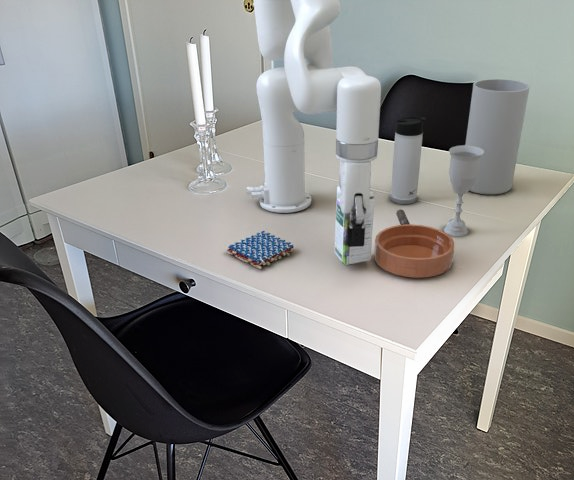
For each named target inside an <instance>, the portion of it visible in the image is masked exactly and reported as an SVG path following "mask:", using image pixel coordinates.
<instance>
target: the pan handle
mask: <svg viewBox="0 0 574 480" xmlns="http://www.w3.org/2000/svg"><path fill="white" fill-rule="evenodd" d="M395 214H396V217H397V219H398V223H399V225H409V224H411V223H410V221H409V219H408V216H407V215H406V212H405V210H403V209H402V208H401V209H397V210H396V213H395Z"/></svg>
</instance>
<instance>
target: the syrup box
mask: <svg viewBox="0 0 574 480" xmlns="http://www.w3.org/2000/svg"><path fill="white" fill-rule="evenodd" d="M340 193H341V190H340V187H339V185H337V187H336V205H335V206H336V208H335V228H334V229H335V231H334V254H335V255H336V256H337V257H338V259H339V260H340V261H341V263H342V264H343V265H344V266H347V265H351V264H352V265H353V264H359V263H363V262H367V261H371V256H372V255H371V254H372V244H373V243H372V242H373V228H374V227H373V226H374V214H375V213H374V212H375V200H376V199H375V198H376V193H375V192H374V191H372V189H370V199H369V209H368V212H367V213H366V214H365V213H364V221H365V239H364V246H361V247H348V246H347V231H348V227H349V213H346V214H343V213H342V211H341V207H340ZM352 211H355V208H353V207H352ZM352 217H353V219H354V218H355V215H352Z"/></svg>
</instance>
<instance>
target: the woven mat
mask: <svg viewBox="0 0 574 480" xmlns="http://www.w3.org/2000/svg"><path fill="white" fill-rule="evenodd" d="M286 241H287V240H286V239H281V237H276V235H275V234H273V235H272V234H271V232H266V231H265V230H262V231H259V232H256V233H255V234H254V235H253V234H250V236H249V237H245V238H243V239H240V240H239V241H238V242H237V241H235V242H234V243H232V244H229V246H228V248H227V249H226V251H227V254H229V255H231V256H235V258H236V259H238V260H240V261H242V262H244V263H248V264H250V265H252V266H253V267H255V268H256V269H258V270H261V271H262V270H263V267H262V266H265V265H267V266H271V263H272V262H274V261H275V262H276V261H278V260H282V257H284V256H287V257H289V256H290V255H291V254H290V253H293V252H294V250H295V249H294V248H295V247H294V244H292V242H291V241H289V242H288V241H287V242H286Z"/></svg>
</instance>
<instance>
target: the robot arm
mask: <svg viewBox="0 0 574 480" xmlns="http://www.w3.org/2000/svg"><path fill="white" fill-rule="evenodd" d="M253 9H254V18H255V27H256V35H257V43H258V44H257V45H258V50H259V52H260V54H261V56H262V58H264V59H265V60H267V61H273V62H279V61H281V62H282V61H283V65H284V66H280V67H274V68H270V69H267V70H265V71H263V72H262V73H261V74H260V75H259V77H258V78H257V80H256V85H255V87H256V96H257V100H258V101H257V102H258V105H259V110H260V116H261V127H262V143H263V147H262V148H263V167H264V182H263V185H259V186H257V187H256V186H246V195H247V196H251V199H257V198H259V206H260V207H261V208H262V209H264V210H265V211H268V212H272V213H278V214H289V213H296V212H301V211H303V210H305V209H307V208H308V207H310V206H311V205H312V196H311V195H310V193H307V192H306V175H305V174H306V173H305V172H306V169H305V167H306V165H305V161H306V160H305V158H306V157H305V154H306V153H305V130H304V127H303V125H302V124H301V122H300V121H299V120H298V119H297V118H296V117H295V115H294V113H296V112H300V113H301V114H304V115H318V114H326V113H331V112H336V127H335V128H336V129H335V158H336V159H337V160H339V173H338V174H339V175H338V186H339V187H340V190H341V193H340V207H341V211H342V213H343V214H346V213H349V227H348V231H347V246H348V247H361V246H364V239H365V221H364V213H365V214H366V213H367V212H368V209H369V199H370V190H371V177H372V176H371V175H372V161H375V160H376V159H377V158H378V153H379V134H380V133H379V132H380V131H379V130H380V117H381V114H380V113H381V98H382V85H381V84H382V83H381V82H380V80H379V79H378V78H377V77H375V76H371V75H367V74H366V72H364V71H363V70H362V69H361V68H360V67H357V66H354V65H353V66H349V65H348V66H341V67H334V59H333V43H332V41H333V40H332V32H331V28H330V25H331V24H332V23H333V22H334V21H336V19H337V18H338V17H339V15H340V13H341V3H340V0H253ZM352 207H353V208H355V211H352ZM352 215H355V218H354V219H353V217H352Z"/></svg>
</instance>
